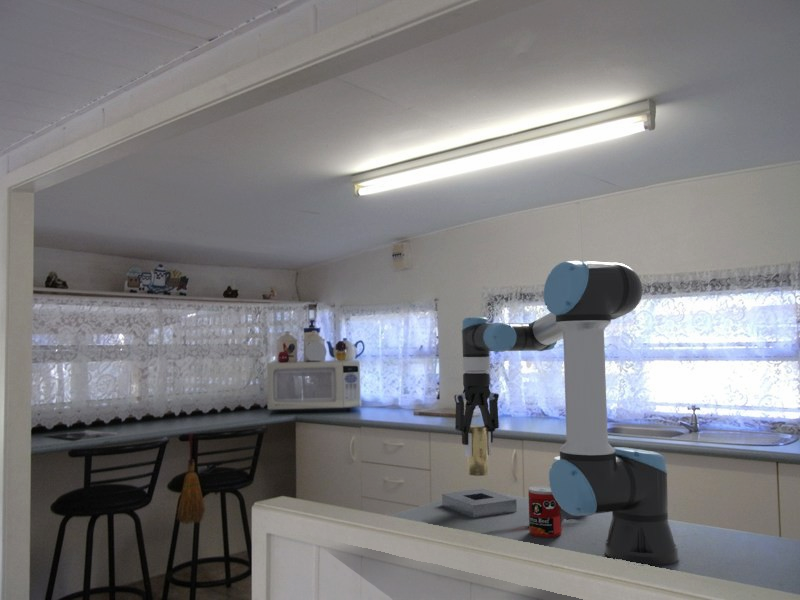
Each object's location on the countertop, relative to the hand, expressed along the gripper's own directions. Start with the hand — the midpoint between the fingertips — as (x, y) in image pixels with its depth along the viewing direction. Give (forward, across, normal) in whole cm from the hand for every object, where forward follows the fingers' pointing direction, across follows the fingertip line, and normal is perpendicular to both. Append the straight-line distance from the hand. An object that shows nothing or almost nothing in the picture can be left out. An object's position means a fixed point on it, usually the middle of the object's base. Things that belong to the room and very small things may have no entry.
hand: (477, 455), depth 190 cm
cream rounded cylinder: (+5, 0, 0) cm, 5 cm away
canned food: (+16, -3, +25) cm, 30 cm away
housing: (+16, 0, 0) cm, 16 cm away
